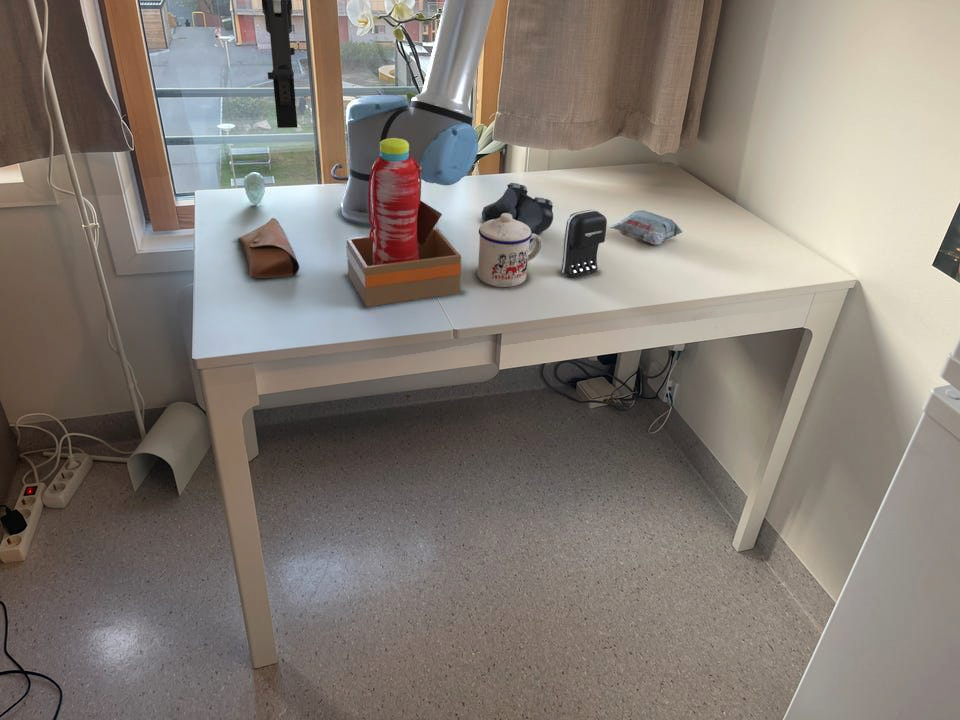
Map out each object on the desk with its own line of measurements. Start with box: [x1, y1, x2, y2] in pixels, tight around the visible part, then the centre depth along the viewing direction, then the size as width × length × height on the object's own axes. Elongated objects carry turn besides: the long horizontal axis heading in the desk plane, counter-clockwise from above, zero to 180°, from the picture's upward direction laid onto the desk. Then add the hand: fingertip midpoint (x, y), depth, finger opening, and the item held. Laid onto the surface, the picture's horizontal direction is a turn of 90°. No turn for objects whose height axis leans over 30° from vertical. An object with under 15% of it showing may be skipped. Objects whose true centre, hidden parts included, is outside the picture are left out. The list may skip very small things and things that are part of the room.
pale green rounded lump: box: [243, 171, 266, 206], centre depth 153 cm, size 8×4×7 cm, turn 24°
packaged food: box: [609, 209, 683, 246], centre depth 149 cm, size 9×12×5 cm
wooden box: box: [345, 228, 462, 308], centre depth 126 cm, size 12×16×7 cm
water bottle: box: [368, 138, 443, 265], centre depth 121 cm, size 12×8×25 cm, turn 121°
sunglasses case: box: [237, 217, 300, 279], centre depth 134 cm, size 18×7×7 cm, turn 23°
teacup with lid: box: [477, 213, 543, 288], centre depth 130 cm, size 12×9×12 cm
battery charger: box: [560, 209, 608, 278], centre depth 132 cm, size 7×4×11 cm, turn 120°
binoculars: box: [481, 182, 554, 244], centre depth 149 cm, size 16×7×10 cm, turn 32°
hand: (286, 114), depth 110 cm, fingers open, 13 cm apart
